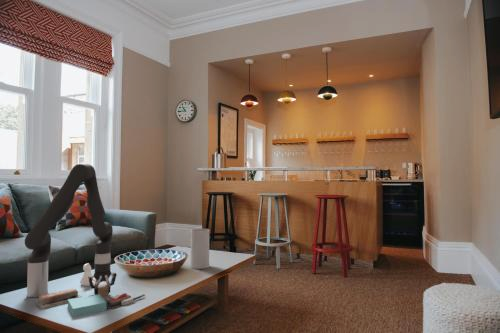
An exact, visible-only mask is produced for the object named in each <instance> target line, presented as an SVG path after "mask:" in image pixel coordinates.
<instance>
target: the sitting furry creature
mask: <svg viewBox="0 0 500 333" xmlns="http://www.w3.org/2000/svg"><path fill="white" fill-rule="evenodd" d="M82 269H83V271H84V272H83V274H82V277H81V278H80V281H79V284H80V285H82V286H84V287H85V286H86V287H90V284H89V280H88V277H89V276H93V275H92V274H93V273H92V266H91V265H90V263H89V262H88V263H87V262H86V263H85V264H83V267H82ZM92 282H93V285H95V282H96V279H95V278H93V280H92Z"/></svg>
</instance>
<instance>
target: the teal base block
mask: <svg viewBox="0 0 500 333" xmlns="http://www.w3.org/2000/svg"><path fill="white" fill-rule="evenodd" d="M105 300H106V299H104V297H102V296H101V295H100V294H96V295H94V294H91V295H86V296H82V297H80V298H74V299H69V300H68V303H67V309H68V310H69V312H70V314H71V317H72V318H75V317H79V316H83V315H84V316H85V315H89V314H95V313H99V312H103V311H104V310H105V311H107V307H106V301H105Z"/></svg>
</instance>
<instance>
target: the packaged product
mask: <svg viewBox="0 0 500 333" xmlns="http://www.w3.org/2000/svg"><path fill="white" fill-rule="evenodd" d="M80 297H83V296H81V295H79V290H77V289H76V288H71V289H65V290H62V291H56V292H52V293H47V294H46V295H42V296H39V297H38V299H37V301H36V302H35V304H36V305H37V306H38V307H40V308H41V309H42V310H43V309H47V308H51V307H57V306H59V305H63V304H68V300H69V299H74V298H80Z"/></svg>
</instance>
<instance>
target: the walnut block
mask: <svg viewBox="0 0 500 333" xmlns="http://www.w3.org/2000/svg"><path fill="white" fill-rule="evenodd" d="M97 289H98V294H100V295H101V296H102V298H106V297H107V296H108V297H109V295H110V293H109V286H108V285H107V283H105V284H99V285H98V288H97Z"/></svg>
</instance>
